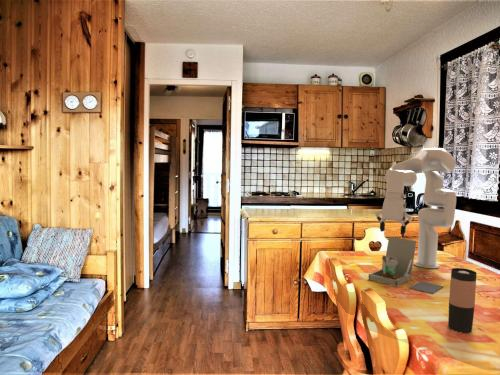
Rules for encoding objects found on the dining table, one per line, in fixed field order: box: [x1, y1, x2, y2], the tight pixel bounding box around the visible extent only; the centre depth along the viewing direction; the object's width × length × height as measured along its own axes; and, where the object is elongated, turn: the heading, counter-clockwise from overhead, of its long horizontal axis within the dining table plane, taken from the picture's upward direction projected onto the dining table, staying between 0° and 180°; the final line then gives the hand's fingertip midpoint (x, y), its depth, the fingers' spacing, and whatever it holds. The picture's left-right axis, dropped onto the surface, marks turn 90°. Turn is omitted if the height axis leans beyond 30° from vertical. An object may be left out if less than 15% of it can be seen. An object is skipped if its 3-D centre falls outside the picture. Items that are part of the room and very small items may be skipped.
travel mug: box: [447, 267, 478, 334], centre depth 133 cm, size 8×8×20 cm
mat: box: [408, 280, 444, 295], centre depth 177 cm, size 14×10×1 cm
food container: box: [381, 255, 398, 280], centre depth 188 cm, size 12×6×10 cm, turn 168°
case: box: [368, 236, 417, 287], centre depth 189 cm, size 21×14×18 cm, turn 137°
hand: (392, 232), depth 185 cm, fingers open, 9 cm apart
